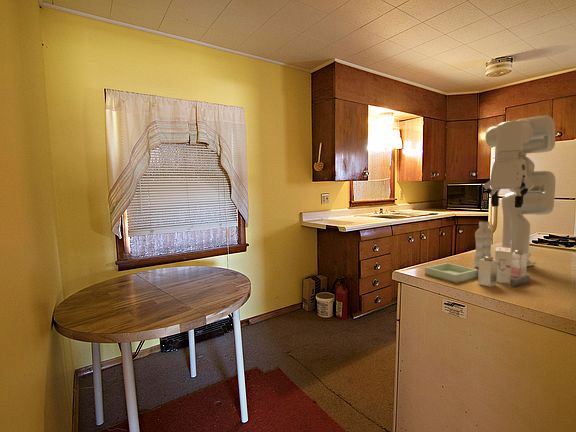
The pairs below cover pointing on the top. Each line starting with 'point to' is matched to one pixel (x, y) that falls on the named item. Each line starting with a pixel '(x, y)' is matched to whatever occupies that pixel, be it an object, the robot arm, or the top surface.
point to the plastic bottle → (482, 242)
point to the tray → (451, 272)
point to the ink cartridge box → (504, 264)
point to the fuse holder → (489, 270)
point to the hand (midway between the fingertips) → (506, 206)
